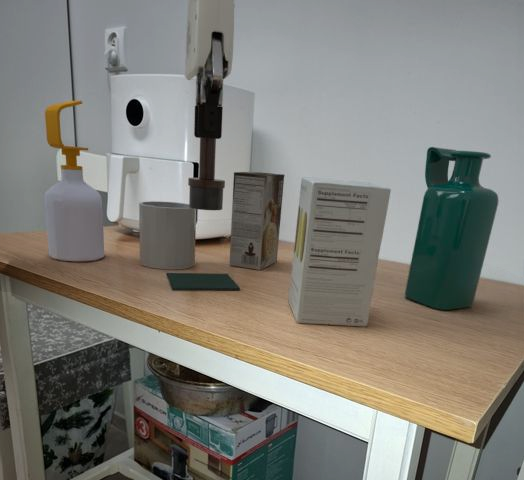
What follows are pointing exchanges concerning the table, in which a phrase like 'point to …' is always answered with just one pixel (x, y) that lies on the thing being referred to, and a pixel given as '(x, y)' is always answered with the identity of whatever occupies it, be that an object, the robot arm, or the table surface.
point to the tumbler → (167, 235)
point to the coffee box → (255, 219)
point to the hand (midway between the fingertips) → (207, 137)
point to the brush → (206, 180)
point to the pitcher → (451, 231)
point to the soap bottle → (71, 202)
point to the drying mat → (201, 281)
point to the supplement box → (336, 250)
